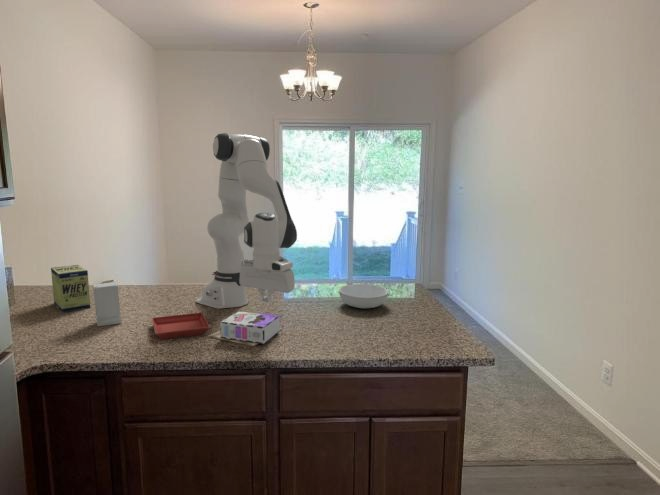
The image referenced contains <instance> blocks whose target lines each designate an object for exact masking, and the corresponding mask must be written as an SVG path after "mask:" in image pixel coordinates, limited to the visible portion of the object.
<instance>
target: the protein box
mask: <svg viewBox="0 0 660 495" xmlns="http://www.w3.org/2000/svg"><path fill="white" fill-rule="evenodd" d="M50 271H51V281H52V283H51V284H52V295H53V303H54V305H55V306H56V308H58V310H59V311H61V313H66V312H73V311H80V310H83V309H90V308H91V300H90V299H91V298H90V297H91V296H90V286H89V285H90V284H89V273H88V270H87V269H86V268H84V267H83V266H81V265H78V264H74V265H64V266H55V267H51V268H50Z"/></svg>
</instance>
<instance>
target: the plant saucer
mask: <svg viewBox="0 0 660 495" xmlns="http://www.w3.org/2000/svg"><path fill="white" fill-rule="evenodd" d="M151 320H152V324H153V329H154V333H155V335H156V336H157V337H158V338H159V339H161V340H164V339H173V338H174V339H175V338H180V337H189V336H190V337H191V336H197V335H198V336H199V335H204V334H205V333H206V332H208V330H209V328H210V326H211V325H210V324H209V323H208V321H207V319H206V316H205V315H204V314H203V313H202V312H195V313H185V314H175V315H167V316H166V315H164V316H158V317H157V316H156V317H152V318H151Z"/></svg>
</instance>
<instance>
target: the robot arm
mask: <svg viewBox="0 0 660 495" xmlns="http://www.w3.org/2000/svg"><path fill="white" fill-rule="evenodd" d="M270 146H271V145H270V143H269V141H268V140H267V139H266V138H264V137H261V136H254V135H250V134H244V133H243V134H238V133H227V132H222V133H218V134H217V135H216V136H215V137H214V140H213V142H212V152H213V156H214V157H215V158H216V159H217V160H219V161H221V164H220V169H219V177H218V178H219V179H218V191H217V192H218V193H217V195H218V199H219V201H220V203H221V208H222V213H218V214H216V215H214V216H213V217H212V218H211V219H210V220H209V221H208V223H207V228H206V230H207V232H208V234H209V236H210V238H212V240H213V243H214V246H215V247H214V248H215V250H216V251H215V252H216V259H217V260H216V263H217V265H216V266H217V268H216V271H214V272H212V276H214V278H213V279H212V280H211V281H210V282H208V283H207V284H206V285H204V287H202V291H201V296H200V297H198V298H196V299H195V300H196V301H195V303H196V304H197V303H198V304H200V305H203V306H207V307H210V308H214V309H225V308H226V309H227V308H239V307H244V306H245V305H247V304H249V300H248V296H247V291H246V288H250V289H251V288H252V289H258V293H259V295H260V297H261V302H263V303H267V304H269V303H270V304H271V302H272V298H273V295H274V294H275V292H279V293H286V294H289V293H291V292H292V291H294V289H295V288H296V287H295V286H296V285H295V284H296V283H295V273H294V271H293V269H292V268H293V266H294V263H293V262H292V261H291V260H288V259H287V258H284V257H283V256H281V255H280V250H279V249H289V248H291V247H292V246H294V245H295V243H296V241H298V240H297V239H298V232H297V228H296V225H295V223H294V220H293V218H292V216H291V214H290V210H289V207H288V205H287V202H286V198H285V195H284V193H283V192H284V191H283V190H282V186H281V184H280V182H279V181H278V180H277V179H275V178H274V177H273V176H272V174H271V173H270V172H269V169H268V165H267V164H268V163H267V161H268V159H269V157H270V152H271V150H270V149H271V148H270ZM247 191H248V192H250V193H253V194H256V195H258V196H263V197H264V198H267V199H268V200H269V201H271V203H272V206H273V209H274V212H275V214H273V213H270V212H259V213H257V214H255V215H254V216H253V220H252V221H251V219H250V216H249V214H248V209H247V207H248V206H247V199H246V198H247V196H246V195H247ZM241 236H243V237H244V238H243V239H244V240H243V243H244V244H245V245H247V247H249V248H251V249H253V251H252V259H251V260H249V259H245V254H244V251H243V249H242V247H241V244H240V239H239V237H241ZM265 291H267V293H268V295H267V294H266V292H265Z"/></svg>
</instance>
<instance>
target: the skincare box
mask: <svg viewBox="0 0 660 495" xmlns="http://www.w3.org/2000/svg"><path fill="white" fill-rule="evenodd" d="M92 286H93V289H92V291H93V297H94V298H93V299H94V308H95V316H96V325H97V327H104V326H112V325H117V324H122V317H121V315H122V314H121V308H120V306H121V305H120V296H119V284H118V282H117V281H111V282H106V283H105V282H104V283H95V284H93V285H92Z"/></svg>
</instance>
